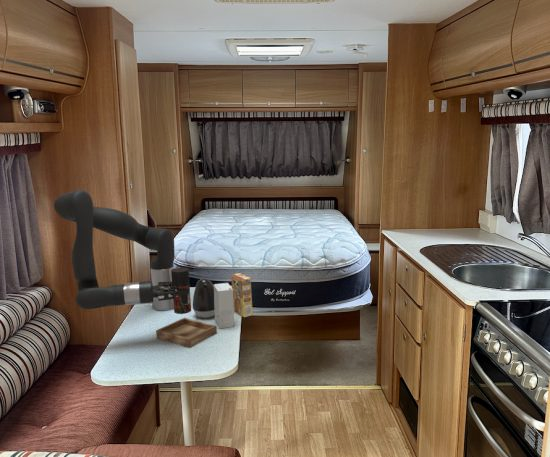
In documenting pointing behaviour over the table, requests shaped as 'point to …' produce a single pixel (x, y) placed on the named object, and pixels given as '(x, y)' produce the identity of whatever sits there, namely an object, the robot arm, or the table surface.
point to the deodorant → (179, 282)
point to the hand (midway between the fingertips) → (188, 288)
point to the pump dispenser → (204, 299)
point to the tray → (186, 332)
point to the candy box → (242, 294)
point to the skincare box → (224, 305)
